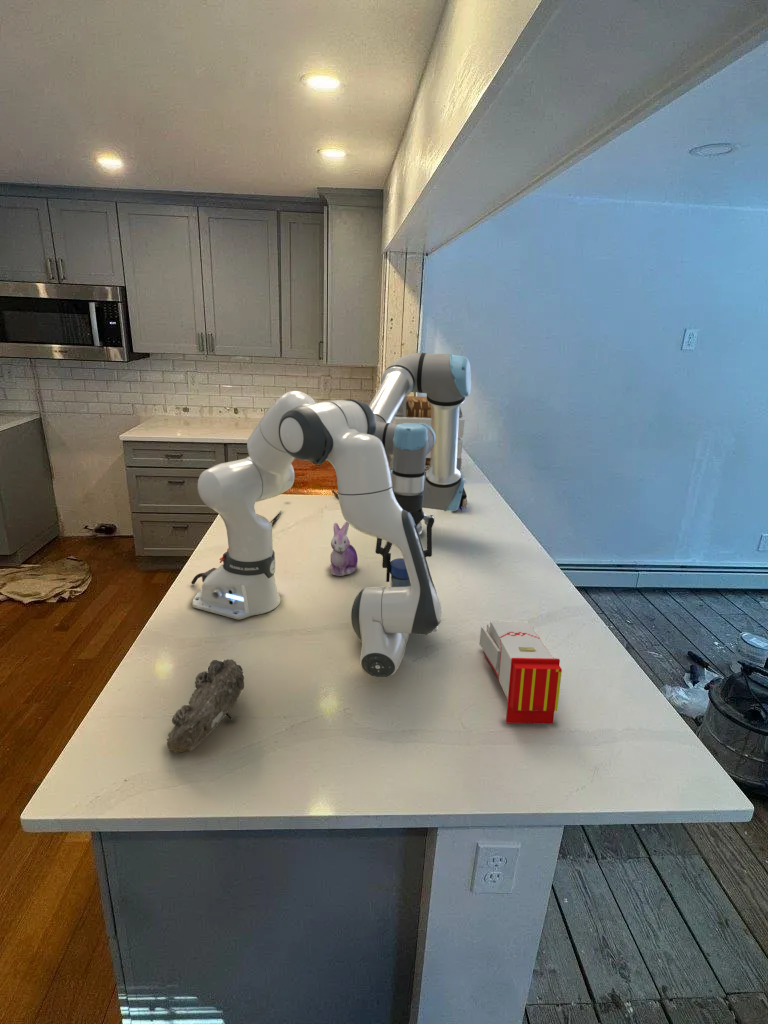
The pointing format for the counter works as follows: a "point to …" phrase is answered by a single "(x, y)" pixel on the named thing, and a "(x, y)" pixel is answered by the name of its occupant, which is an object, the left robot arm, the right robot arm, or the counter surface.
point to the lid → (398, 568)
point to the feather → (275, 519)
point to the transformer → (421, 413)
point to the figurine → (342, 552)
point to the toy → (523, 670)
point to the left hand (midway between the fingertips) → (401, 598)
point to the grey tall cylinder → (399, 582)
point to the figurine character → (463, 500)
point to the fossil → (206, 705)
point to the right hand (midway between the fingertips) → (402, 580)
